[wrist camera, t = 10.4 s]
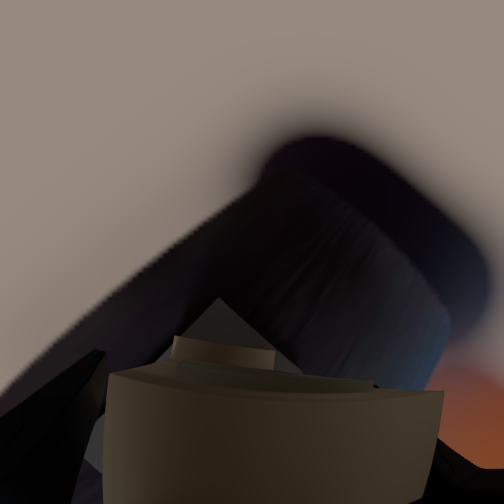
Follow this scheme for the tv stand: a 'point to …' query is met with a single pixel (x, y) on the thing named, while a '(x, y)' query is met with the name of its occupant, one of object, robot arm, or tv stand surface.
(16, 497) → the robot arm
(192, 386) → the tapered block
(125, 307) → the tv stand surface
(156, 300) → the tv stand surface
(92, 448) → the slate tile
